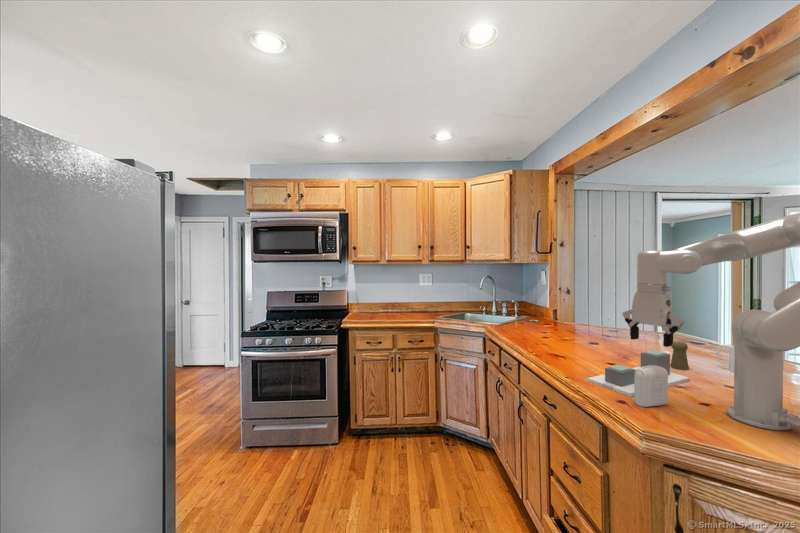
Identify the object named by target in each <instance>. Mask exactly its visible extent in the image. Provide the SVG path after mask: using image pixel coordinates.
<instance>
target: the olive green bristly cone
mask: <svg viewBox="0 0 800 533" xmlns="http://www.w3.org/2000/svg"><path fill="white" fill-rule="evenodd" d="M688 346H689V345H688V344H687V343H686V342H684V341H673V344H672V346H671V348H672V349H673V351H672V355H671V359H670V369H675V370H677V371H678V370H679V371H689V364H688V362H689V361H688V356H687V350H688Z"/></svg>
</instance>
